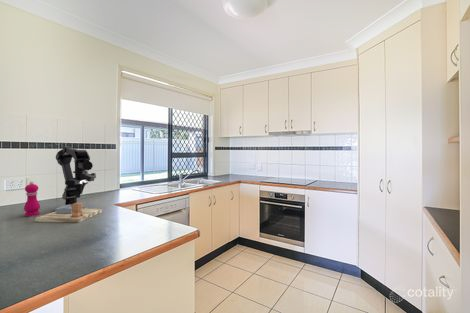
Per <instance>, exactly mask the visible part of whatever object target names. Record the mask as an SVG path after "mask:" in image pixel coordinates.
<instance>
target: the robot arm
mask: <svg viewBox="0 0 470 313" xmlns="http://www.w3.org/2000/svg"><path fill="white" fill-rule="evenodd" d="M55 160H56V161H57V164H58V165H59V166H60V167H61V169H62V173H63V177H64V185H65V186H64V189H63V193H62V198H61V199H62V200H64V204H65V205H72V204H74V203H78V199H79V198H81V195H83V191H84V188H85V187H86V185H88V184H89V182H90V183H91V182H94V181H95V179H97V174H96V173H95V172H91V173H89V172H88V171H90V170H92V168H93V166H94V165H93V162H91V157H90V155H89V152H88V151H87V149H78V148H74V147H73V146H72V147H71V146H66V147H65V146H64V147H62V149H61V150H59V151H57V153H56V154H55ZM73 160H74V161H73ZM72 161H73V162H74V170H73V171H72V167H71V162H72ZM73 174H74V176H73ZM65 205H64V206H65Z"/></svg>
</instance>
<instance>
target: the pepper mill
mask: <svg viewBox="0 0 470 313" xmlns="http://www.w3.org/2000/svg"><path fill="white" fill-rule="evenodd" d="M24 191H25V192H26V195H25V196H26V198H27V199H26V202H25V203H24V207H23V211H24V212H25V213H24V216H25V217H34V216H38V215H39V214H40V210H41V204H40V202H39V200H38V198H37V195H38V191H39V186H38V185H37V184H35V183H34V181H30V182H29V184H27V185H25V187H24Z"/></svg>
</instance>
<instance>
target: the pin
mask: <svg viewBox="0 0 470 313" xmlns="http://www.w3.org/2000/svg"><path fill="white" fill-rule="evenodd" d="M82 209H83V202H77V203H74V204H72V217H80V216H82Z"/></svg>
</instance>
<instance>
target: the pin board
mask: <svg viewBox="0 0 470 313" xmlns="http://www.w3.org/2000/svg"><path fill="white" fill-rule="evenodd" d="M102 211H103V210H102V208H82V216H80V217H72V214H56V210H55V211H53V212H49V213H46V214H44V215H43V214H42V215H40V216H37V217H35V218H34V219H35V220H34V222H36V223H37V222H38V223H39V222H40V223H80V222H83V221H85V220H87V219H90V218H91V217H94V216H96V215H98V213H99V214H101V213H102Z"/></svg>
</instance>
